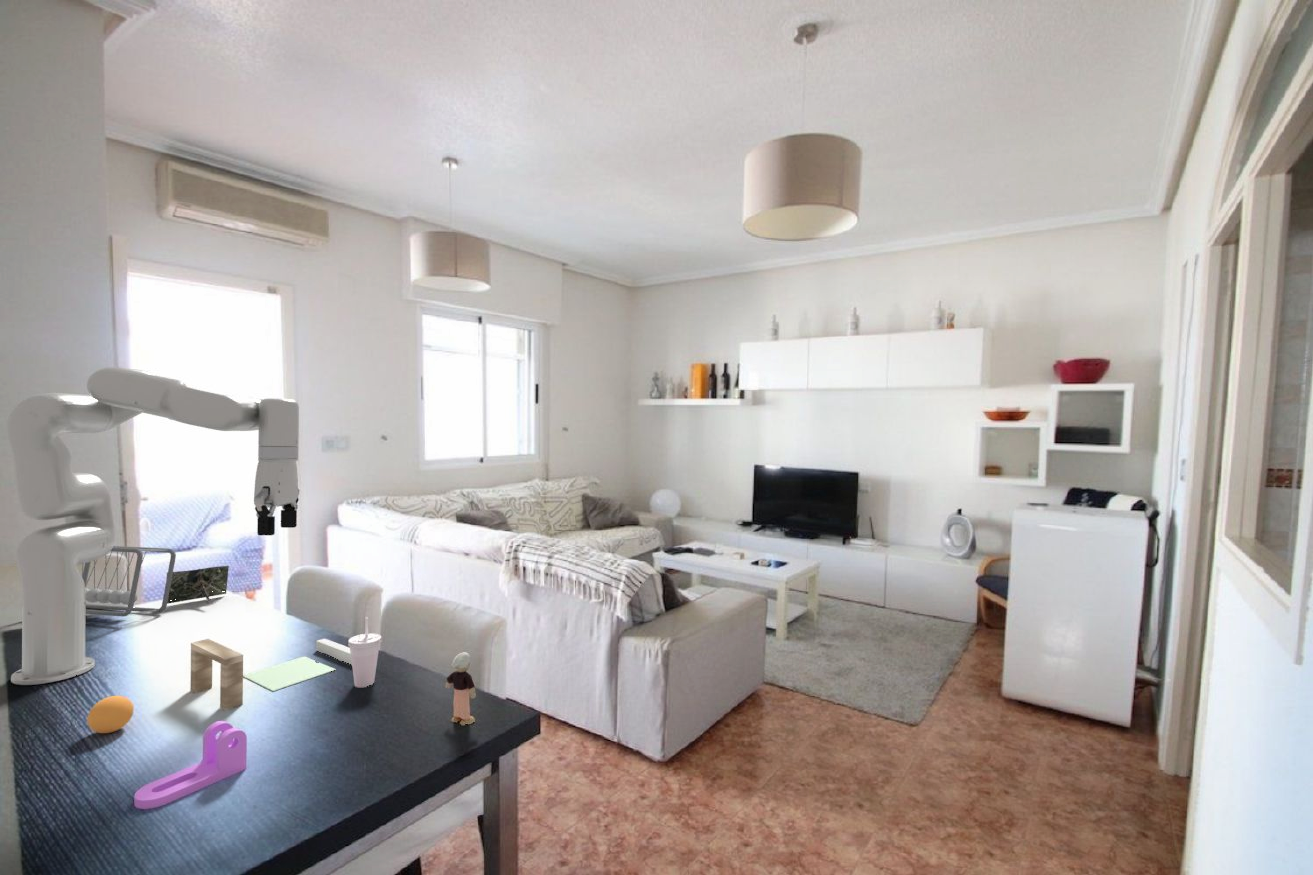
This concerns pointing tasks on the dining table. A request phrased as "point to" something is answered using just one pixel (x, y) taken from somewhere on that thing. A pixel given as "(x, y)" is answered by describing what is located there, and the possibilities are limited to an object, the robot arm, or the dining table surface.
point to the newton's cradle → (130, 595)
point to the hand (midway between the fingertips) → (277, 531)
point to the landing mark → (288, 673)
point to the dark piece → (198, 584)
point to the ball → (110, 714)
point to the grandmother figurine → (461, 689)
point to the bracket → (200, 767)
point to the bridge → (229, 673)
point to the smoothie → (364, 656)
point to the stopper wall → (334, 650)
